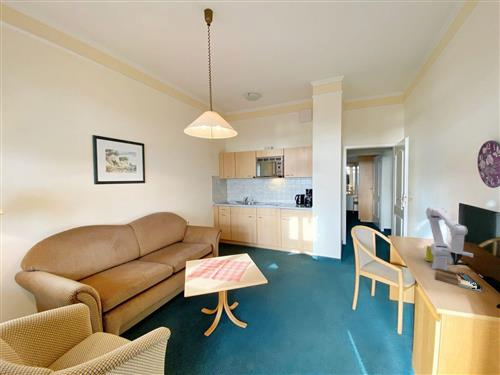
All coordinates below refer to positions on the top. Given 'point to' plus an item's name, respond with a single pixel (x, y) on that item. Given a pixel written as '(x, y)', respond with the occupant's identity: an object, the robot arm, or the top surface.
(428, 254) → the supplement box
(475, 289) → the slate mat
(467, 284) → the lid
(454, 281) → the walnut box
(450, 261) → the light bulb box
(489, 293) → the top surface
